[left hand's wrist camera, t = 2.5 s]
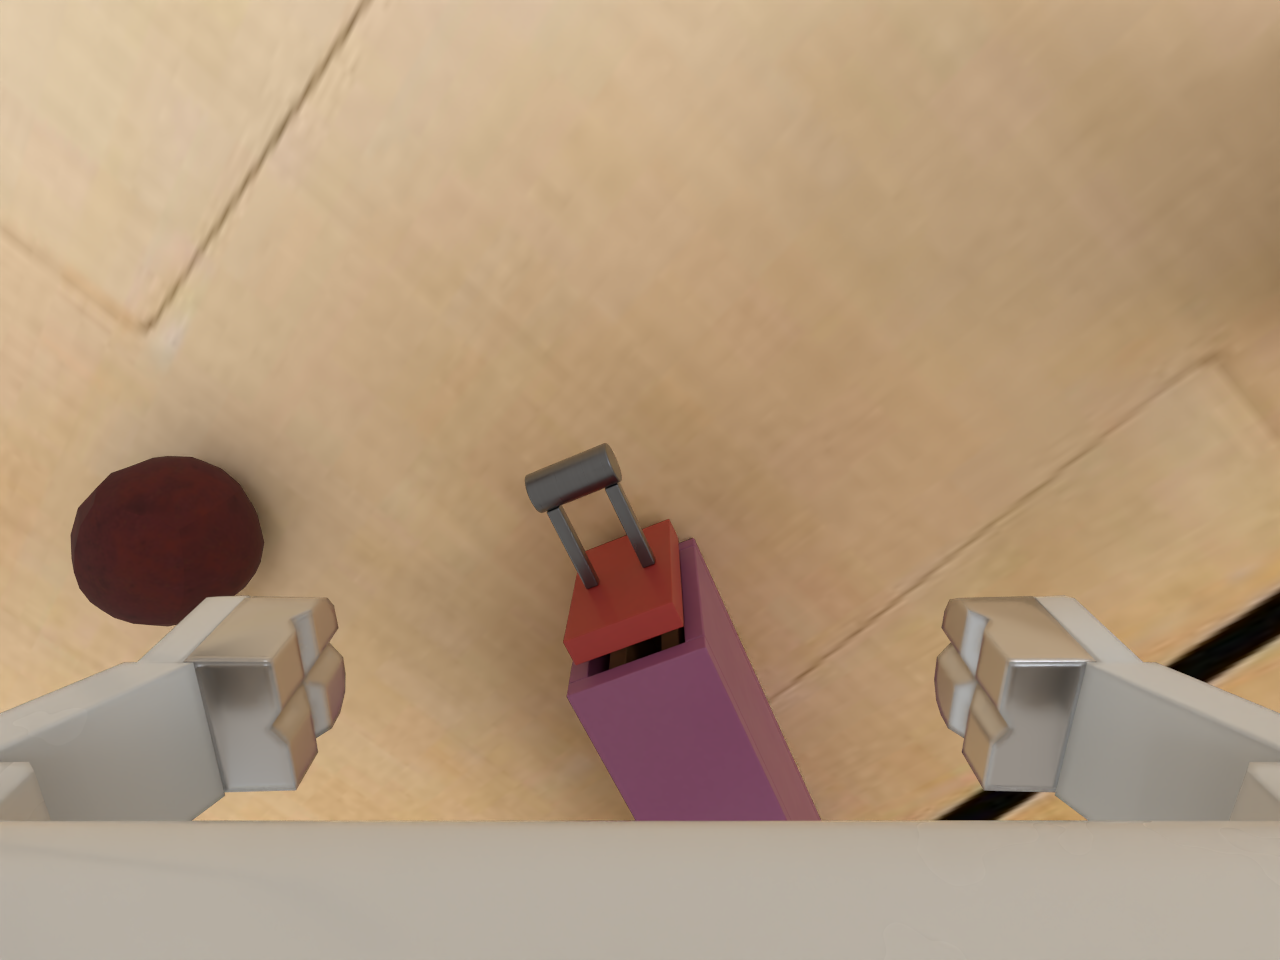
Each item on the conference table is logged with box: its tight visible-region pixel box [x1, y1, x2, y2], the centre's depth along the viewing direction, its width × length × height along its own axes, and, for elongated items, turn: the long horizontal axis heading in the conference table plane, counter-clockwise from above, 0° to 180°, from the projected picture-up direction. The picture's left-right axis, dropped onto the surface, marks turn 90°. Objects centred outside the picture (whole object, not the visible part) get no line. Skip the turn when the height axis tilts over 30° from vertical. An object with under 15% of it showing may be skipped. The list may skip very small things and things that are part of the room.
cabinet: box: [567, 538, 821, 821], centre depth 38 cm, size 21×6×10 cm, turn 24°
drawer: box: [525, 443, 685, 670], centre depth 36 cm, size 25×5×8 cm, turn 24°
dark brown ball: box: [71, 456, 264, 626], centre depth 35 cm, size 7×8×7 cm
